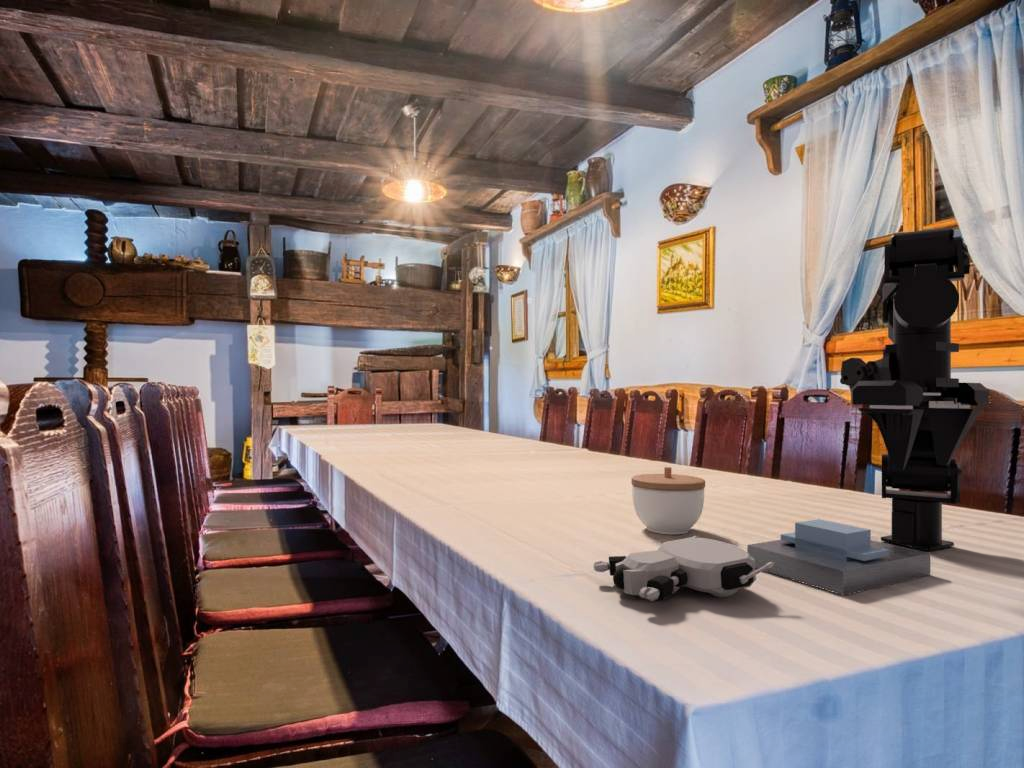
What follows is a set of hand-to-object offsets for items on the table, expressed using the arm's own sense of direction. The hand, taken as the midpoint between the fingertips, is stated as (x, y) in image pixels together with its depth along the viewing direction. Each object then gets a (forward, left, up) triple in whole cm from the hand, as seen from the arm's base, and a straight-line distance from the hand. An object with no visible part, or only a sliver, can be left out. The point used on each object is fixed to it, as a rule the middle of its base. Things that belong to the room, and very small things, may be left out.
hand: (921, 466), depth 73 cm
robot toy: (+32, -7, -12) cm, 35 cm away
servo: (+11, -4, -12) cm, 16 cm away
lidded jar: (+13, -29, -12) cm, 34 cm away
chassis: (+10, -4, -12) cm, 16 cm away
